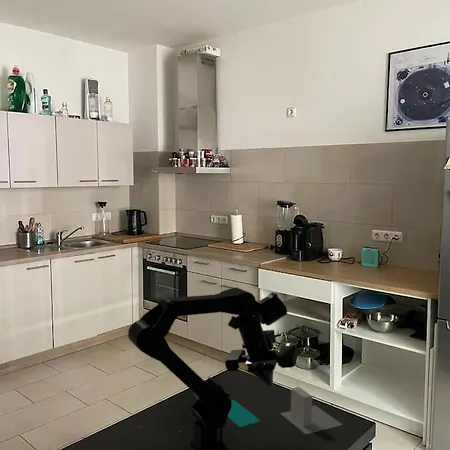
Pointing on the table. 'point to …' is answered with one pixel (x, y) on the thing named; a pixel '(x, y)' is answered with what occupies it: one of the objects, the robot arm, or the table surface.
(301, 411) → the box
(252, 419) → the flat teal tile
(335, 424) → the mat
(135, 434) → the table surface
